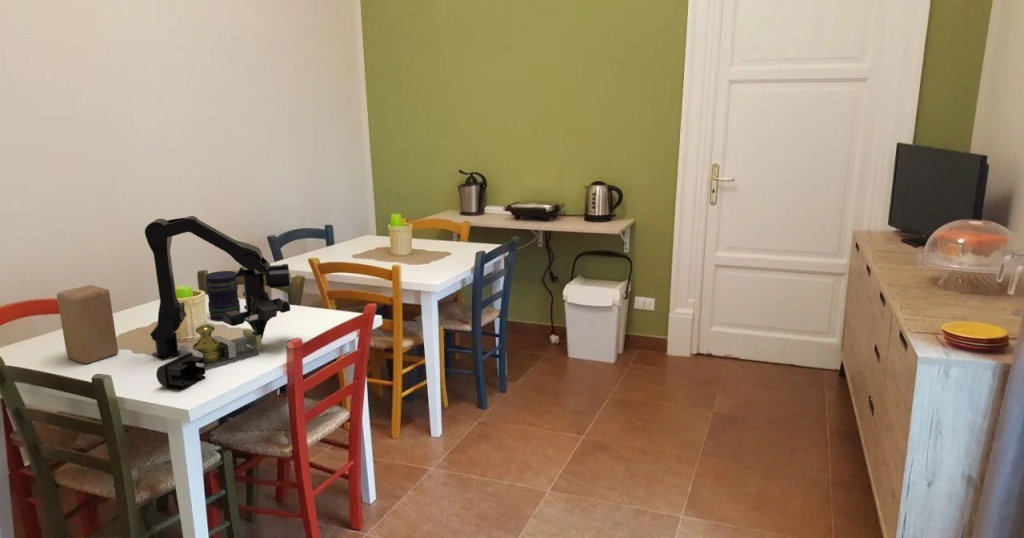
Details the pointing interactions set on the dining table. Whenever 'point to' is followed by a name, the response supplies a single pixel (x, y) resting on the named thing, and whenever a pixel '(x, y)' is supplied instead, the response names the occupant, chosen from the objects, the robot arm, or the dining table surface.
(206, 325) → the olive finial
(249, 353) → the vise bed
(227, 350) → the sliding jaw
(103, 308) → the wooden block
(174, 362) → the end cap
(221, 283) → the storage jar
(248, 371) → the dining table surface
